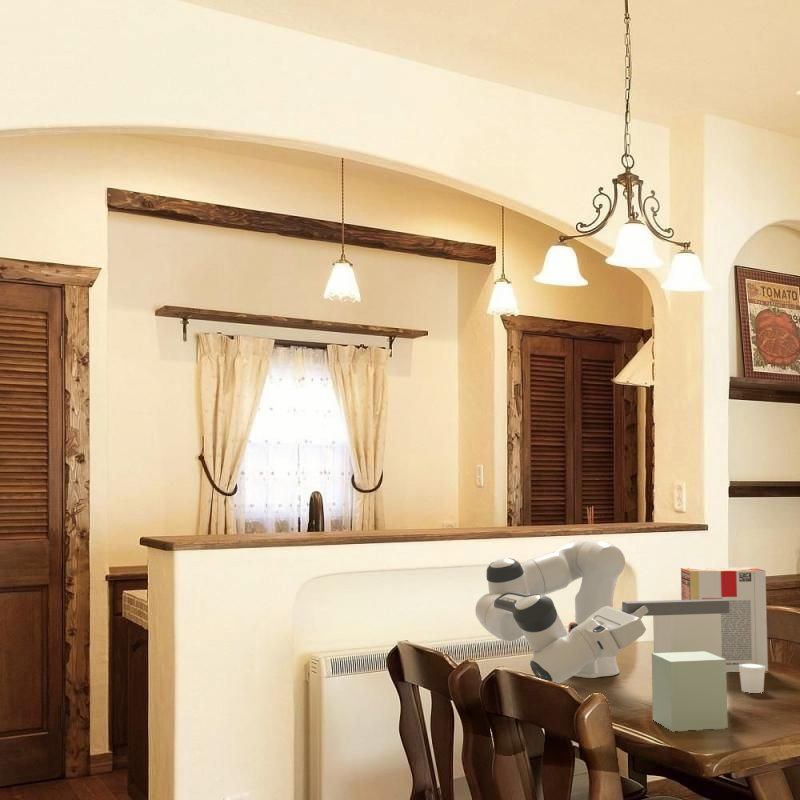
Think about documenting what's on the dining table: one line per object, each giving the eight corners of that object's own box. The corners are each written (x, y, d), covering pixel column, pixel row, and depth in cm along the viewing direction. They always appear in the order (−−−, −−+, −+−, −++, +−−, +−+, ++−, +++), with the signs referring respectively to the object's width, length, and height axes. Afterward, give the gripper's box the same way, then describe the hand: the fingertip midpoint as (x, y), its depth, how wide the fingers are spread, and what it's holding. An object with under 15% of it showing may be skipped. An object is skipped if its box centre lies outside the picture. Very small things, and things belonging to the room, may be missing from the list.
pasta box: (756, 666, 292) (754, 567, 294) (767, 672, 284) (765, 570, 286) (682, 667, 291) (680, 568, 293) (692, 673, 283) (690, 571, 285)
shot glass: (763, 695, 256) (762, 669, 257) (736, 692, 260) (735, 666, 260) (768, 690, 262) (767, 664, 262) (742, 687, 266) (741, 661, 266)
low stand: (672, 731, 222) (670, 661, 223) (652, 720, 231) (651, 653, 232) (727, 728, 224) (726, 659, 225) (706, 717, 234) (704, 651, 235)
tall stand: (672, 708, 243) (670, 608, 245) (654, 698, 253) (653, 602, 254) (722, 705, 246) (720, 607, 247) (703, 696, 255) (701, 601, 257)
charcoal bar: (627, 616, 225) (627, 603, 225) (622, 614, 228) (622, 601, 228) (729, 613, 229) (729, 600, 230) (722, 611, 232) (722, 598, 233)
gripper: (584, 641, 235) (629, 611, 237) (618, 658, 215) (667, 625, 217) (572, 619, 235) (617, 589, 237) (604, 633, 214) (654, 601, 217)
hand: (641, 606), depth 227 cm, fingers closed on charcoal bar, 3 cm apart
